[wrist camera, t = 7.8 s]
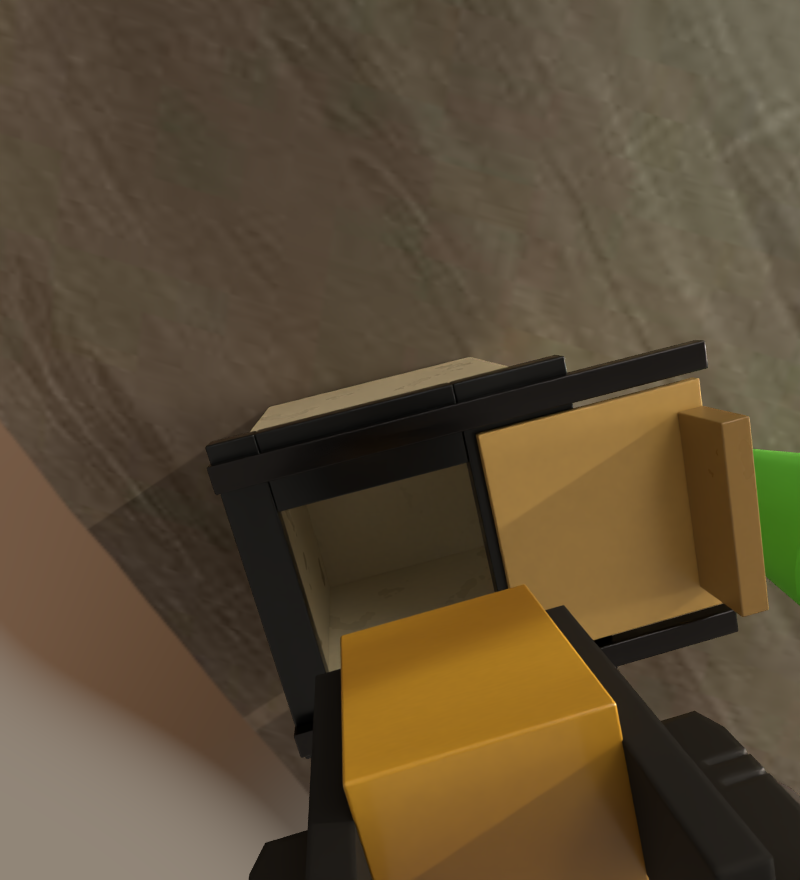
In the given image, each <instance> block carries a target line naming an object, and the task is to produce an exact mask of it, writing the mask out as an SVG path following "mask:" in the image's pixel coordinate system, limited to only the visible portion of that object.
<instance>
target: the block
mask: <svg viewBox="0 0 800 880" xmlns="http://www.w3.org/2000/svg"><path fill="white" fill-rule="evenodd" d="M340 656H341V715H342V775H343V789H344V792H345V795H346V798H347V802H348V805H349V808H350V811H351V815H352V818H353V820H354V822H355V825H356V828H357V832H358V835H359V838H360V841H361V845H362V848H363V851H364V854H365V858H366V861H367V864H368V867H369V871H370V874H371V877H372V880H649V877H648V876H647V873H646V868H645V862H644V857H643V851H642V846H641V841H640V835H639V830H638V825H637V819H636V814H635V809H634V803H633V798H632V792H631V787H630V782H629V776H628V771H627V766H626V760H625V755H624V750H623V744H622V740H623V737H622V732H621V726H620V721H619V716H618V710H617V705H616V703H615V701H614V700H613V699H612V697H611V696H610V695H609V694H608V692H607V691H606V690H605V688H604V687H603V686H602V684H601V683H600V682H599V680H598V679H597V678H596V677H595V675H594V674H593V673H592V671H591V670H590V669H589V667H588V666H587V665H586V663H585V662H584V661H583V660H582V658H581V657H580V656H579V654H578V653H577V652H576V650H575V649H574V648H573V646H572V645H571V644H570V643H569V641H568V640H567V639H566V637H565V636H564V635H563V633H562V632H561V631H560V629H559V628H558V627H557V626H556V624H555V623H554V622H553V620H552V619H551V618H550V616H549V615H548V614H547V612H546V611H545V610H544V609H543V607H542V606H541V605H540V603H539V602H538V601H537V599H536V598H535V597H534V595H533V594H532V593H531V592H530V590H529V589H528V588H527V586H526V585H519V586H516V587H512V588H509V589H505V590H502V591H498V592H495V593H491V594H488V595H484V596H480V597H477V598H473V599H470V600H466V601H463V602H459V603H456V604H452V605H449V606H445V607H442V608H438V609H434V610H431V611H427V612H424V613H420V614H417V615H413V616H410V617H406V618H403V619H399V620H396V621H392V622H389V623H385V624H381V625H378V626H374V627H371V628H367V629H364V630H360V631H357V632H353V633H350V634H346V635H343V636H341V638H340Z"/></svg>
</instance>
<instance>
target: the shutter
mask: <svg viewBox="0 0 800 880" xmlns="http://www.w3.org/2000/svg"><path fill="white" fill-rule="evenodd" d="M476 438H477V443H478V448H479V453H480V457H481V462H482V467H483V471H484V476H485V481H486V486H487V490H488V495H489V500H490V504H491V509H492V514H493V519H494V523H495V528H496V533H497V537H498V542H499V547H500V552H501V556H502V561H503V566H504V571H505V575H506V580H507V585H508V589H509V588H512V587H516V586H519V585H526V586H527V588H528V589H529V590H530V592H531V593H532V594H533V595H534V597H535V598H536V599H537V601H538V602H539V603H540V605H541V606H542V607H543V609H544V610H548V609H551V608H555V607H558V606H562V605H564V606H565V607H566V608H567V609H568V610H569V612H570V613H571V614H572V615H573V616H574V618H575V619H576V620H577V621H578V622H579V624H580V625H581V626H582V627H583V629H584V630H585V631H586V632H587V633H588V635H589V636H590V637H591V638H592V639H593V640H596V639H599V638H603V637H606V636H610V635H613V634H617V633H620V632H624V631H627V630H631V629H634V628H638V627H641V626H645V625H648V624H652V623H655V622H659V621H662V620H666V619H669V618H673V617H676V616H680V615H683V614H687V613H690V612H694V611H697V610H701V609H704V608H708V607H711V606H715V605H718V604H722V603H724V604H725V605H727V606H728V607H729V608H731V609H732V610H734V611H735V612H736V613H738V614H739V615H740V616H742V617H745V616H749V615H752V614H756V613H759V612H763V611H766V610H768V609H769V607H768V597H767V587H766V577H765V567H764V557H763V547H762V537H761V527H760V517H759V507H758V497H757V487H756V477H755V467H754V457H753V447H752V437H751V427H750V418H749V416H745V415H741V414H736V413H732V412H727V411H723V410H718V409H714V408H709V407H705V406H702V400H701V392H700V384H699V379H698V378H689V379H685V380H681V381H677V382H673V383H669V384H666V385H662V386H658V387H654V388H650V389H646V390H642V391H639V392H635V393H631V394H627V395H623V396H619V397H615V398H612V399H608V400H604V401H600V402H596V403H592V404H588V405H585V406H581V407H577V408H573V409H569V410H565V411H561V412H558V413H554V414H550V415H546V416H542V417H538V418H534V419H531V420H527V421H523V422H519V423H515V424H511V425H507V426H504V427H500V428H496V429H492V430H488V431H484V432H480V433H477V434H476Z"/></svg>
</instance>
